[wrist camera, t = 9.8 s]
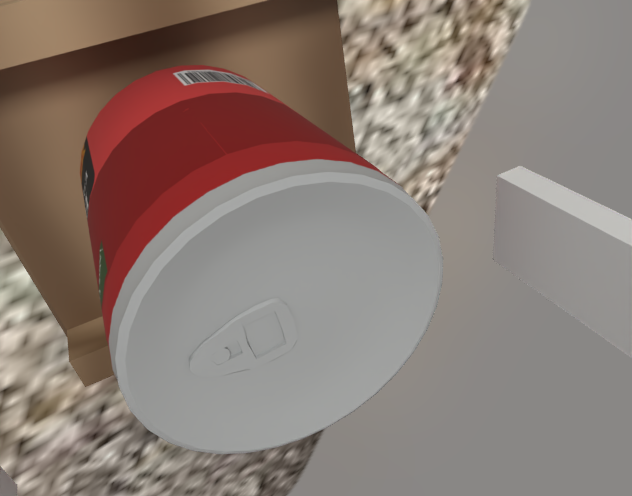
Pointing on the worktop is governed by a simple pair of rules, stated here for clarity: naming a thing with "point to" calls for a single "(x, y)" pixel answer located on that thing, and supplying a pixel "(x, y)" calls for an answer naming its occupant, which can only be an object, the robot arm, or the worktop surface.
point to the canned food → (247, 263)
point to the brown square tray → (102, 85)
